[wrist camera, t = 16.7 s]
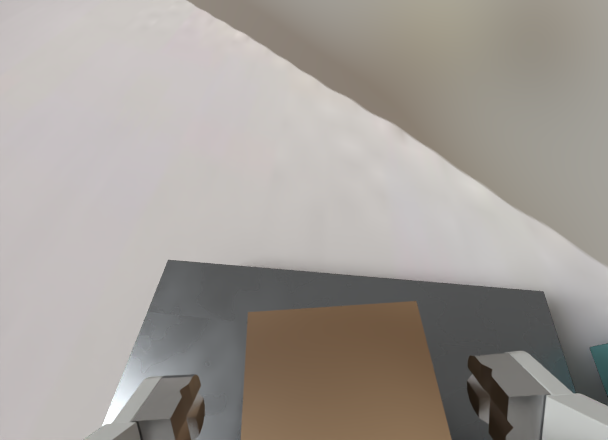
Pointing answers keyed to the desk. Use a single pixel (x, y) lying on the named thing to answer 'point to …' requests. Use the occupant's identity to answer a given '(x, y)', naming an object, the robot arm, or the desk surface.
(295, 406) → the walnut square bit
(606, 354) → the teal flat bit
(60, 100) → the desk surface
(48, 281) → the desk surface
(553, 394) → the robot arm
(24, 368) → the desk surface
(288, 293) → the metal bore block
